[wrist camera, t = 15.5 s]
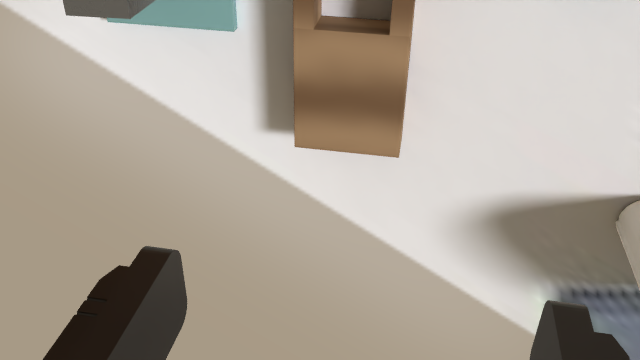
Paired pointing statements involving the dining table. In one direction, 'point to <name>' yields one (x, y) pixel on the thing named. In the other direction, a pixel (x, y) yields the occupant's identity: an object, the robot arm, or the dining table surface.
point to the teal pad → (187, 14)
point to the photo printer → (631, 236)
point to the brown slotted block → (350, 79)
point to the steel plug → (105, 8)
